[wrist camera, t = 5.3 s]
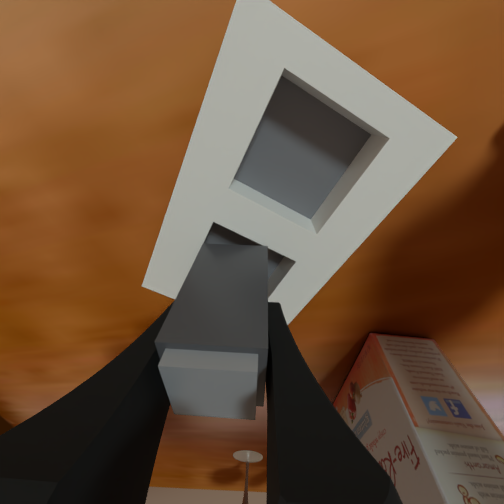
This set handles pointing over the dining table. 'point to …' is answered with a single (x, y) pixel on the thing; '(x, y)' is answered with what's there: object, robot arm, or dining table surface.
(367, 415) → the cracker box
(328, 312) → the dining table surface
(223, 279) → the plug
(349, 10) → the dining table surface
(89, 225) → the dining table surface
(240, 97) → the socket plate
